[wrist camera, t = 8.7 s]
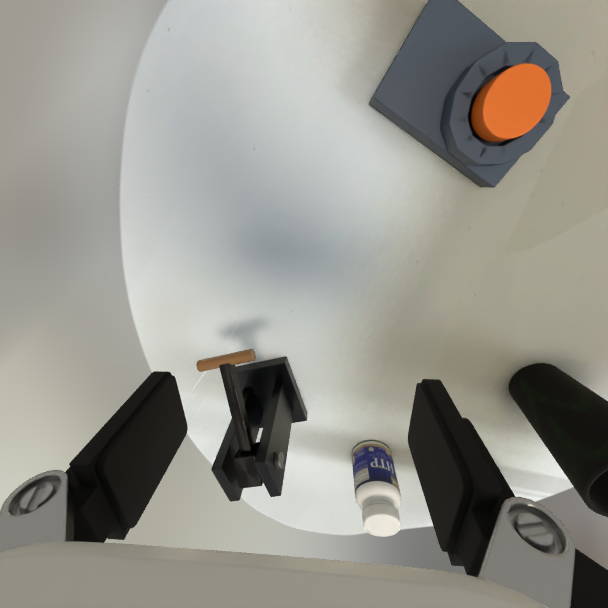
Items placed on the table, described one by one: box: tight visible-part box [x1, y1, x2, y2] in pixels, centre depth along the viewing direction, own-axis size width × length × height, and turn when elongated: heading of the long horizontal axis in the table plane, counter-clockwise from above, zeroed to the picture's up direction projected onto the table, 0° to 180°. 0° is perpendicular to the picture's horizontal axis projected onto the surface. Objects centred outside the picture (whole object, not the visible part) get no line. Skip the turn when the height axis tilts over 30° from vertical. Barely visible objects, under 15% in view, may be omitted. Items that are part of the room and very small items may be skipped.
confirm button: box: [471, 63, 551, 142], centre depth 19 cm, size 4×4×2 cm
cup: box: [509, 363, 608, 517], centre depth 27 cm, size 8×8×12 cm
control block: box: [369, 0, 570, 188], centre depth 21 cm, size 12×7×4 cm, turn 59°
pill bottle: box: [352, 441, 401, 537], centre depth 34 cm, size 5×5×9 cm
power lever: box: [197, 349, 263, 488], centre depth 26 cm, size 12×6×2 cm, turn 16°
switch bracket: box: [212, 357, 307, 501], centre depth 30 cm, size 9×7×12 cm
